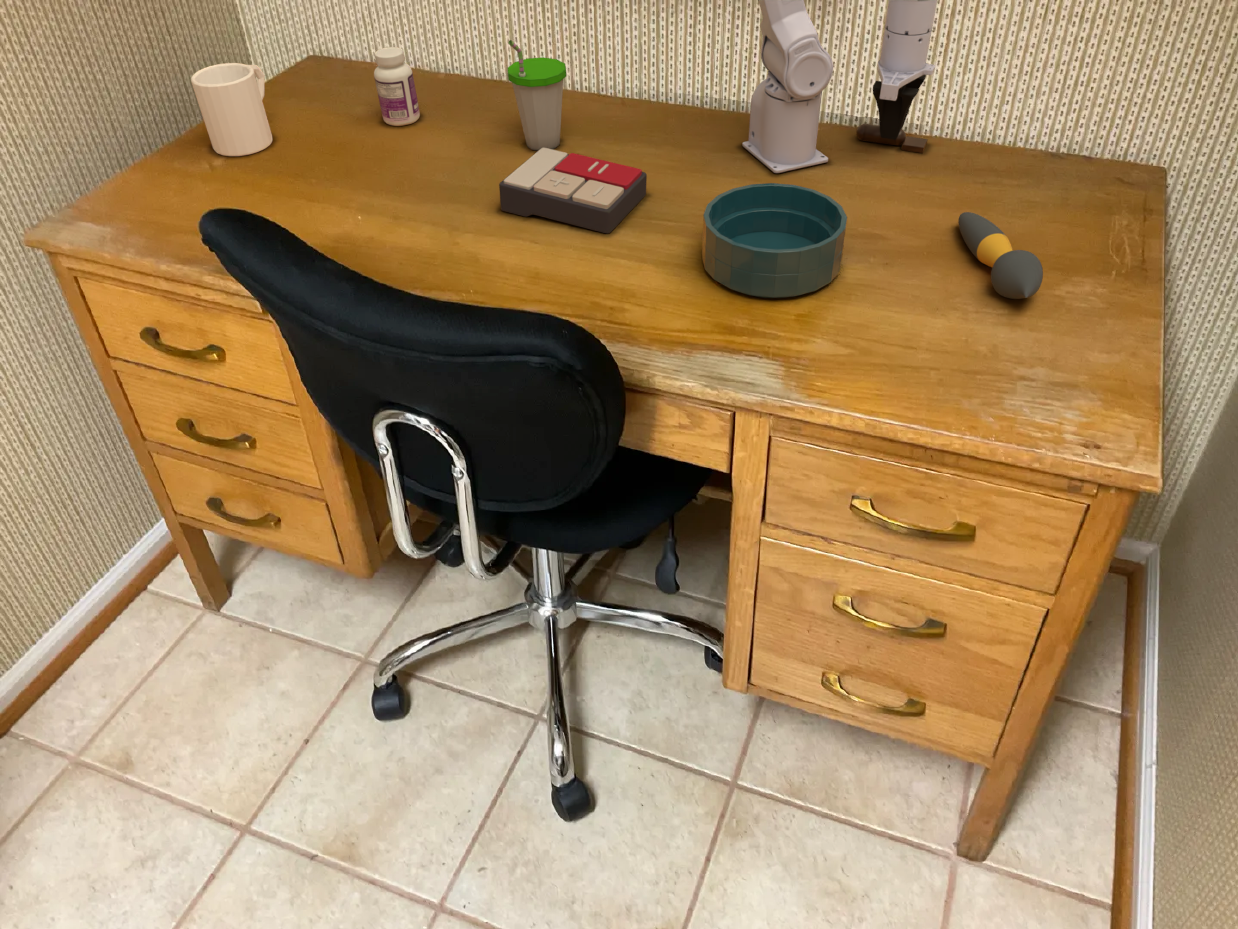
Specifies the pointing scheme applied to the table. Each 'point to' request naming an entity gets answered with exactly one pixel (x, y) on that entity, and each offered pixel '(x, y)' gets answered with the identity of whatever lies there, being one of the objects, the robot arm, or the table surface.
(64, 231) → the table surface
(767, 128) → the robot arm
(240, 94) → the mug
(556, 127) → the cup
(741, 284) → the bowl
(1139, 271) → the table surface
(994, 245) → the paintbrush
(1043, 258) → the table surface
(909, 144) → the brush
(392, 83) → the pill bottle
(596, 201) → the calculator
